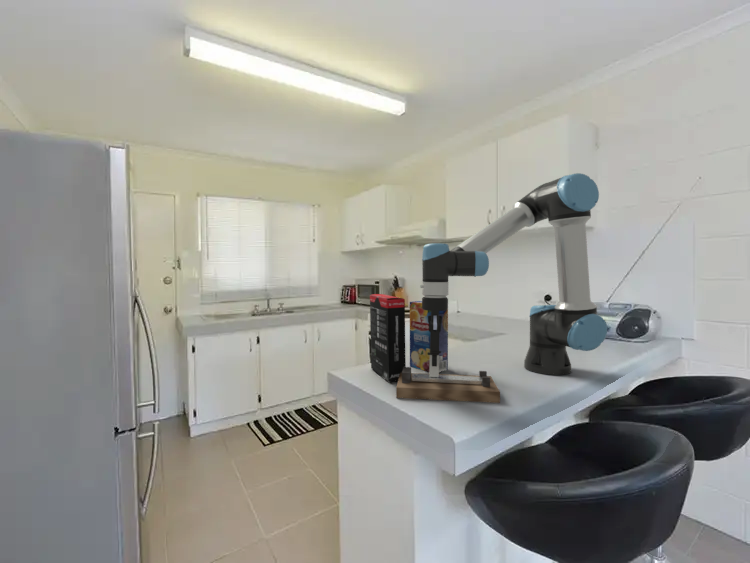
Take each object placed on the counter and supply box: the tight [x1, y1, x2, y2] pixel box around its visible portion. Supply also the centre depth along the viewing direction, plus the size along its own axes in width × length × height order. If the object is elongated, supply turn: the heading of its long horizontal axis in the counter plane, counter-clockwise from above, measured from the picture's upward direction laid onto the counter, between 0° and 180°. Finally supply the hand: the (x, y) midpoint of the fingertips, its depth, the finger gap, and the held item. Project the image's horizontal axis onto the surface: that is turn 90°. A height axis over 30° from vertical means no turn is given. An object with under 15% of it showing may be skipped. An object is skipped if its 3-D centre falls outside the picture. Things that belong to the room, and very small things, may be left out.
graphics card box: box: [369, 293, 407, 383], centre depth 120 cm, size 17×7×27 cm, turn 21°
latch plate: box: [395, 366, 501, 404], centre depth 104 cm, size 28×14×6 cm, turn 82°
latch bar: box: [412, 373, 482, 385], centre depth 104 cm, size 21×4×1 cm, turn 82°
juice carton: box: [409, 300, 449, 373], centre depth 128 cm, size 12×8×24 cm, turn 38°
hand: (434, 376), depth 105 cm, fingers closed
